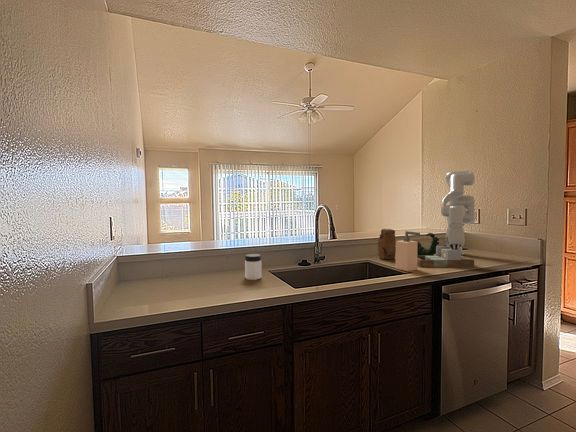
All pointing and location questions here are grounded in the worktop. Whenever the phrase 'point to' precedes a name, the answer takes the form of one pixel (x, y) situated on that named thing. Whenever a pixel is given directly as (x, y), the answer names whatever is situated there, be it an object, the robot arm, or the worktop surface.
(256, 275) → the jar
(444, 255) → the birch cube
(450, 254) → the tunnel walls
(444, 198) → the robot arm
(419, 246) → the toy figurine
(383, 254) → the block
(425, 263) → the walnut deck
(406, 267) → the soap dispenser
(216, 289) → the worktop surface
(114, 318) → the worktop surface
